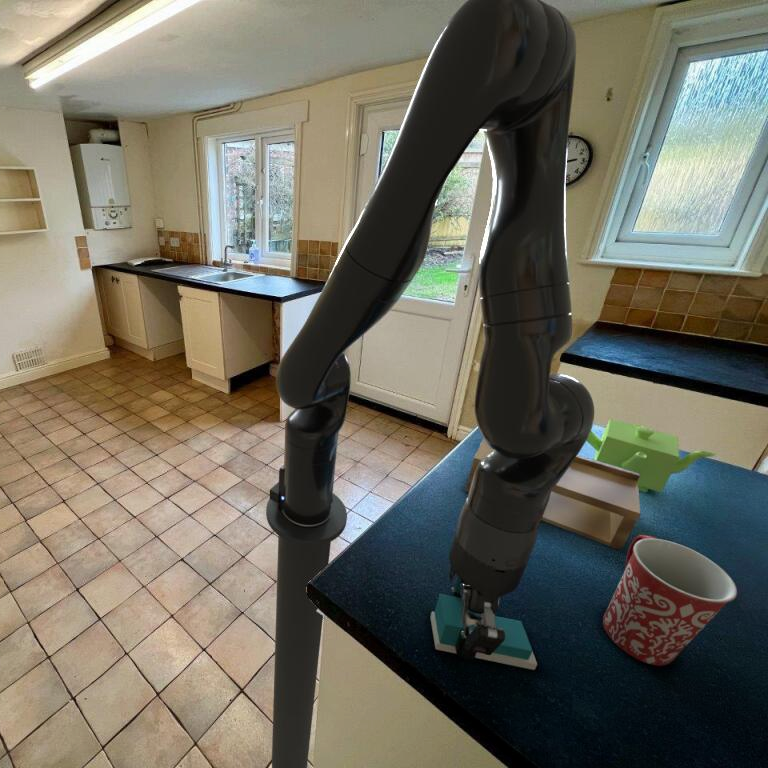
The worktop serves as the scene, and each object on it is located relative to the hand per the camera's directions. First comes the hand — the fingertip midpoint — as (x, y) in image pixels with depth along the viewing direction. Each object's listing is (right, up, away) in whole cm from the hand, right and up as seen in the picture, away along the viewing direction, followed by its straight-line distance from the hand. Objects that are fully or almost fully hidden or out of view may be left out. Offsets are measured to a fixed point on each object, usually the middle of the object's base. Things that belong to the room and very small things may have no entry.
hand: (460, 634), depth 55 cm
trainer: (+2, -1, 0) cm, 3 cm away
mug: (+24, 0, +2) cm, 24 cm away
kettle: (+49, +14, +30) cm, 59 cm away
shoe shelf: (+27, +11, +24) cm, 37 cm away
